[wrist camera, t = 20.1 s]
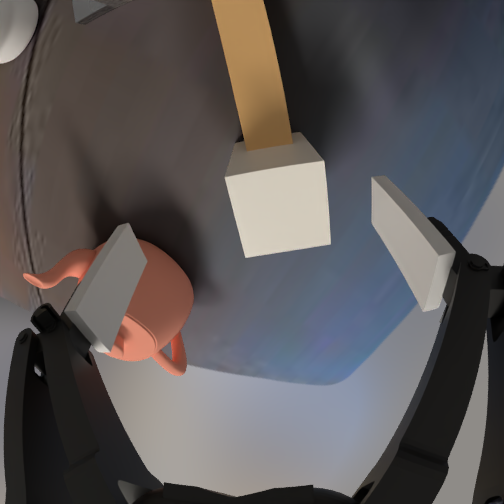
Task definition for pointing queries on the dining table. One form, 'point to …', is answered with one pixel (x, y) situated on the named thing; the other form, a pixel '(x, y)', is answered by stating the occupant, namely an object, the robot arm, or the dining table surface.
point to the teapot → (140, 305)
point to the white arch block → (94, 9)
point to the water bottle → (16, 27)
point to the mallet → (268, 144)
